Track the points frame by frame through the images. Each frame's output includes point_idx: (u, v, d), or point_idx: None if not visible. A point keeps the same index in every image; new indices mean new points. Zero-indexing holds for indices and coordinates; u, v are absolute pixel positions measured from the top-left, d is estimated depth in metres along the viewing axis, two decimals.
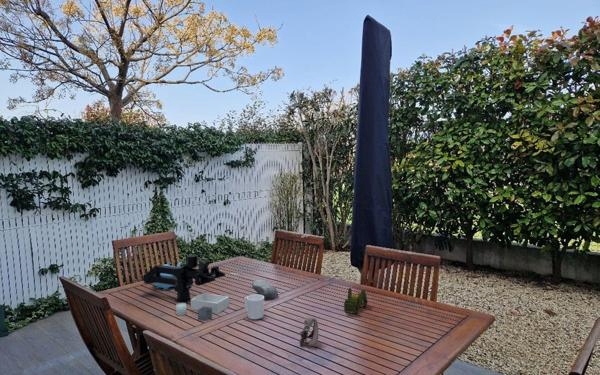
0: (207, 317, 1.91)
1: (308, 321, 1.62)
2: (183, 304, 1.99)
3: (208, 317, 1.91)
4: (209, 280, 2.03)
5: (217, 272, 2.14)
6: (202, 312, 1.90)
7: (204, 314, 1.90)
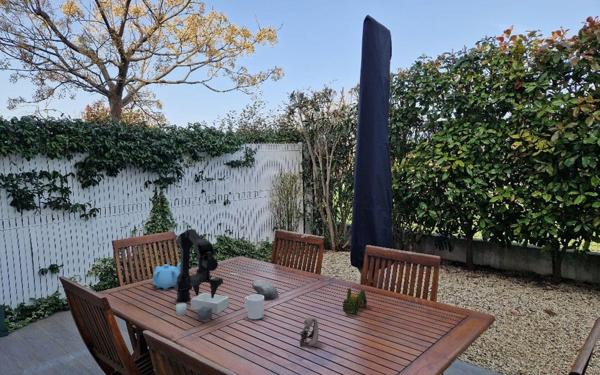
0: (207, 317, 1.91)
1: (308, 321, 1.62)
2: (183, 304, 1.99)
3: (208, 317, 1.91)
4: None
5: None
6: (202, 312, 1.90)
7: (204, 314, 1.90)
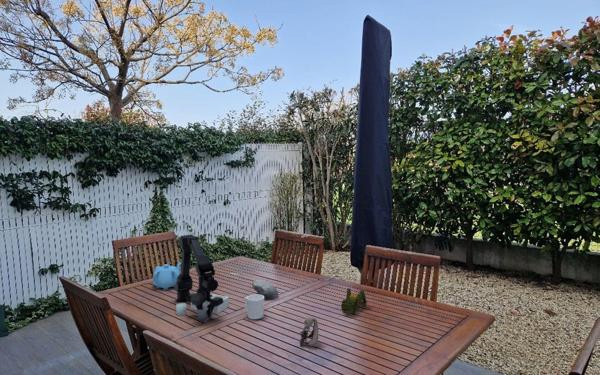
0: (207, 317, 1.91)
1: (308, 321, 1.62)
2: (183, 304, 1.99)
3: (208, 317, 1.91)
4: None
5: None
6: (202, 312, 1.90)
7: (204, 314, 1.90)
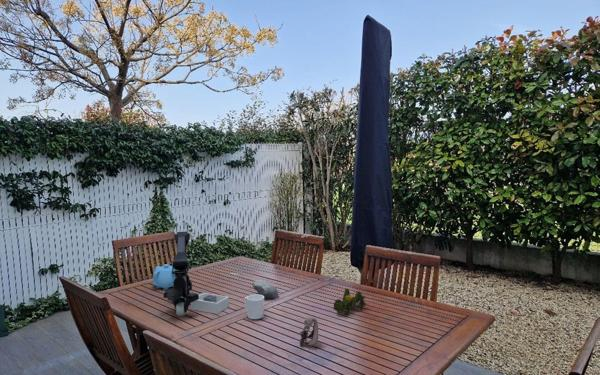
0: None
1: (308, 321, 1.62)
2: (183, 304, 1.99)
3: None
4: None
5: None
6: (207, 300, 2.04)
7: (209, 301, 2.04)
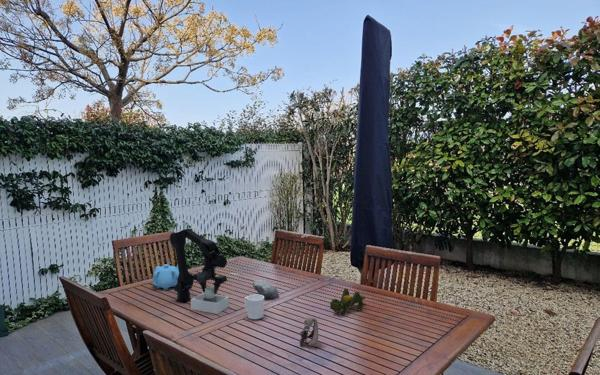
0: None
1: (308, 321, 1.62)
2: (211, 288, 2.06)
3: None
4: None
5: None
6: (207, 300, 2.04)
7: (209, 301, 2.04)
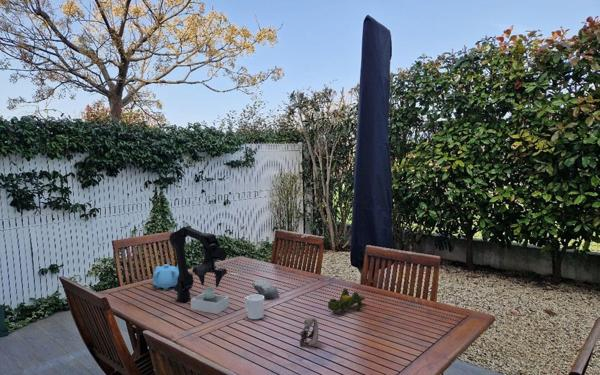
0: None
1: (308, 321, 1.62)
2: (211, 288, 2.06)
3: None
4: None
5: None
6: (207, 300, 2.04)
7: (209, 301, 2.04)
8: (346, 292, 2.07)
